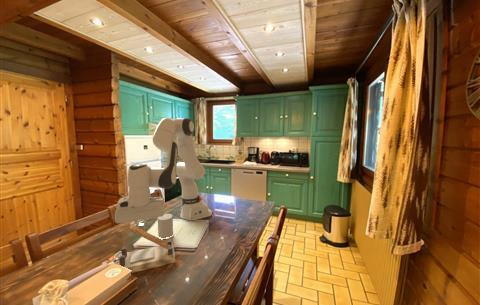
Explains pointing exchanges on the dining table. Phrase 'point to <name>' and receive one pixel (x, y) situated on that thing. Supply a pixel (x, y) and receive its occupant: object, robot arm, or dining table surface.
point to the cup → (165, 226)
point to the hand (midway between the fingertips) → (141, 228)
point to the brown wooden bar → (150, 237)
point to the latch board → (147, 257)
